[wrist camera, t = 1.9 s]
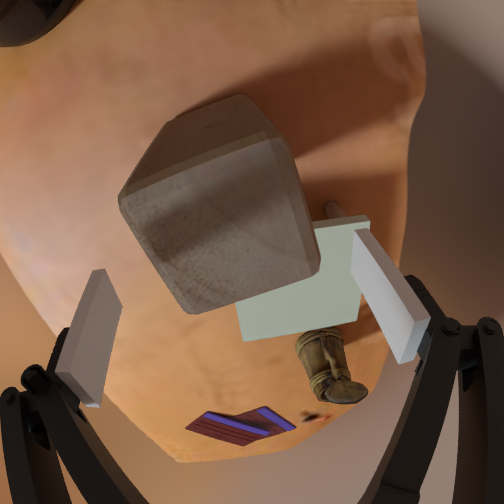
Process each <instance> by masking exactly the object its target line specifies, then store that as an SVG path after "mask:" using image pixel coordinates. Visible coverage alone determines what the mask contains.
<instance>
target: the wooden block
mask: <svg viewBox="0 0 504 504" xmlns="http://www.w3.org/2000/svg"><path fill="white" fill-rule="evenodd" d="M118 204H119V209H120V212H121V214H122V216H123V217H124V219H125V221H126V222H127V224H128V226H129V227H130V229H131V231H132V232H133V234H134V236H135V237H136V239H137V240H138V242H139V244H140V245H141V247H142V249H143V250H144V252H145V253H146V255H147V256H148V258H149V260H150V261H151V263H152V264H153V266H154V267H155V269H156V270H157V272H158V273H159V275H160V277H161V278H162V280H163V281H164V283H165V284H166V286H167V287H168V289H169V290H170V292H171V293H172V295H173V296H174V297H175V299H176V300H177V302H178V303H179V305H180V306H181V308H182V309H183V311H185V312H186V313H188V314H201V313H204V312H207V311H210V310H213V309H217V308H220V307H223V306H226V305H229V304H232V303H235V302H238V301H242V300H245V299H248V298H251V297H254V296H257V295H260V294H263V293H266V292H269V291H272V290H275V289H278V288H281V287H284V286H287V285H289V284H292V283H295V282H298V281H301V280H304V279H307V278H310V277H312V276H314V275H315V274H316V273H317V272H319V269H320V262H321V254H320V250H319V246H318V243H317V239H316V235H315V231H314V227H313V224H312V220H311V216H310V213H309V209H308V205H307V202H306V198H305V195H304V191H303V188H302V184H301V181H300V178H299V174H298V171H297V167H296V164H295V161H294V158H293V154H292V151H291V148H290V145H289V142H288V141H287V139H286V138H285V137H284V136H283V135H282V134H281V132H280V131H279V130H278V129H277V128H276V127H275V126H274V124H273V123H272V122H271V121H270V120H269V119H268V118H267V117H266V115H265V114H264V113H263V112H262V111H261V110H260V109H259V108H258V107H257V105H256V104H255V103H254V102H253V101H252V100H251V99H250V98H249V97H248V96H247V95H246V94H237V95H234V96H231V97H228V98H225V99H223V100H220V101H217V102H215V103H212V104H209V105H207V106H204V107H202V108H199V109H197V110H194V111H192V112H189V113H187V114H185V115H182V116H180V117H177V118H175V119H173V120H171V121H168V122H167V123H166V124H165V125H164V126H163V127H162V128H161V130H160V131H159V133H158V134H157V136H156V137H155V138H154V140H153V141H152V143H151V144H150V146H149V147H148V149H147V150H146V152H145V153H144V155H143V156H142V158H141V159H140V161H139V163H138V164H137V166H136V167H135V169H134V170H133V172H132V174H131V175H130V177H129V178H128V180H127V182H126V183H125V185H124V187H123V188H122V190H121V192H120V193H119V195H118Z"/></svg>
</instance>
